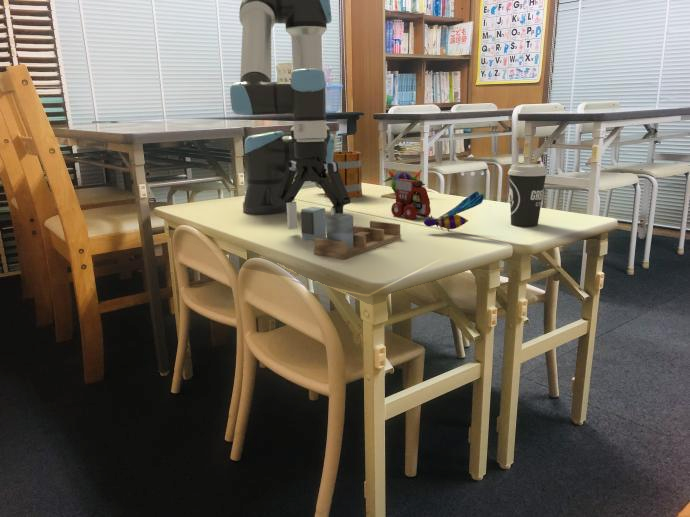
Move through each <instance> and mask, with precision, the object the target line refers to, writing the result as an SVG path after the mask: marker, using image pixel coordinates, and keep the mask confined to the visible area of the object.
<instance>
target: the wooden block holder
mask: <svg viewBox="0 0 690 517" xmlns="http://www.w3.org/2000/svg"><path fill="white" fill-rule="evenodd" d="M325 224H326V238H314V240H313V244H314V245H313V247H314V248H313V255H317V256H321V257H328V258H333V259H337V260H338V259H340V260H347V259H349V258H352V257H355V256H357V255H360V254H363V253H365V252H367V251H368V252H369V251H371V250H373V249H376V248H379V247H381V246H385V245H387V244H389V243H393V242H394V241H397V240H400V239H401V238H402V236H401V223H393V222H385V221H384V222H383V221H376V220H370V221H369V227H368V226H358V225H354V215H353V214H347V213H343V214H340V213H337V214H333V215H331V214H330V215H325Z"/></svg>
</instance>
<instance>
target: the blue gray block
mask: <svg viewBox="0 0 690 517" xmlns="http://www.w3.org/2000/svg"><path fill="white" fill-rule="evenodd" d="M300 224H301V235H302V240H303V239H304V240H305V239H306V240H311V241H314V238H322V239H325V238H327V230H326V207H318V206H317V207H316V206H310V207H305V208H301V209H300Z"/></svg>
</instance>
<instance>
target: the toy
mask: <svg viewBox="0 0 690 517" xmlns="http://www.w3.org/2000/svg"><path fill="white" fill-rule="evenodd" d="M484 198H485V194H484V193H479V191H474V192H473V193H471V194H470V195H468V196H467V197H465V198H464V199H463V200H462V201H460V202H459V204H457V205H456V206H455V207H453V208H451V209H450V210H449V211H447V212H445V213H444V214H442V215H440V216H438V218H434V217H433V216H432V214H430V216H431V217H428V218H426V219H425V220H424V221H423V224H424V225H425V226H426V227H430V228H431V227H433V226H436V228H439V227H440V229H441V230H442V231H444V229H446V230H447V231H448V233H450V232H451V231H450V230H454V229H458V228H459V227H461V226H463V225H465V224H466V223H468V222H469V220H468V219H466V218H464V216H461V215H459V214H460V213H462V212H465V211H467V210H470V209H472V208H475V207H477V206H479V205H481V204H482V203H483V202H484Z"/></svg>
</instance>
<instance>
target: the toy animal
mask: <svg viewBox="0 0 690 517" xmlns="http://www.w3.org/2000/svg"><path fill="white" fill-rule="evenodd" d="M386 170H387V172H388V174H389V177H388V178H386V179H385V180H383V181H382V182H383V183H386V182H389V181H391V186H390V187H391V189H392V190H393V192H391V193H386V194H382V195H381V196H380V198H384V199H391V200H396V188H395V181H396V180H397V179H406V180H413V181H418V180H419V179H417V178H419V177H420V174H422V169H420V170H419V171H418V172H416V173H415V174H414V175H413V176H412V175H411V173H409V172H406V171H402V170H401V169H400V170H399V172H397V173H395V174H394V173H393V172H392V171H391V170H390V169H389V168H388V169H386ZM423 186H426V183H423Z"/></svg>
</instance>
